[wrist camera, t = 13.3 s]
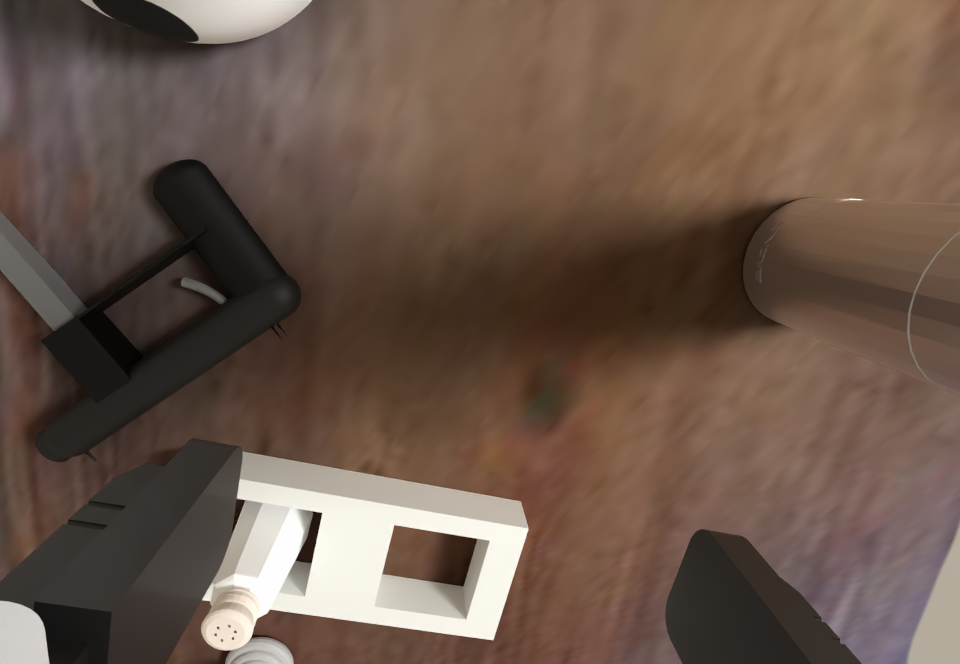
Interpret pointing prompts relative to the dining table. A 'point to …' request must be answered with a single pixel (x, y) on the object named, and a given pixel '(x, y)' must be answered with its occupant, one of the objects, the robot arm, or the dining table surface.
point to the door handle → (90, 333)
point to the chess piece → (260, 652)
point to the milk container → (201, 17)
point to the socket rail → (365, 541)
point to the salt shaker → (253, 570)
